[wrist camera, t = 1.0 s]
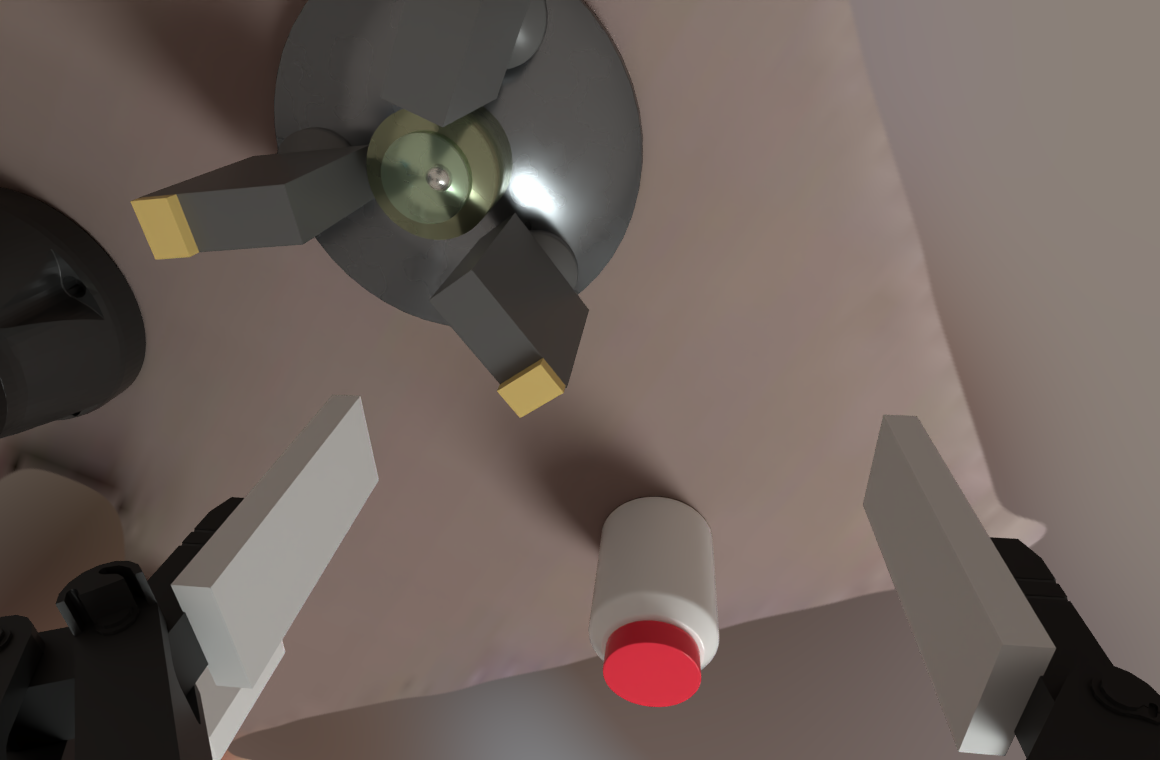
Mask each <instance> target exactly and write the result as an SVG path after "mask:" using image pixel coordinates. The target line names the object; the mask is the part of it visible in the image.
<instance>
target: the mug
mask: <svg viewBox="0 0 1160 760" xmlns="http://www.w3.org/2000/svg"><path fill="white" fill-rule="evenodd" d="M284 654H285V649H284V645H283V641H281V642H280V644H279V646H278V647H277V649H276V651H275V652H274V654H273V656H272V657H271V659H270V661H269V662H268V664H267V666H266V667H265V669H264V671H263V672H262V674H261V676H260V677H259V679H258V680H257V682H256V684H255V685H254V687H253V689H250V688H238V687H227V686H216V684H215V682H214V680H213V677H212V675H211V673H210V671H209V669H208V666H207V667H206V668H205V670H204V671H203V673H202V674H201V676H200V677H199V679H198V680H197V681H196V683H195V684H196V686H197V688H198V690H199V692H200V695H201V700H202V705H203V711H204V716H205V721H206V727H207V732H208V737H209V742H210V748H211V753H212V758H213V760H221V758H222V757H223V755H224V753H225V752H226V750H227V748H228V747H229V745H230V743H231V742H232V740H233V738H234V737H235V735H236V733H237V732H238V730H239V728H240V727H241V725H242V723H243V722H244V720H245V718H246V717H247V715H248V713H249V712H250V710H251V708H252V707H253V705H254V703H255V702H256V700H257V698H258V697H259V695H260V693H261V692H262V690H263V688H264V687H265V685H266V683H267V682H268V680H269V679H270V677H271V675H272V674H273V672H274V670H275V669H276V667H277V665H278V664H279V662H280V660H281V659H282V657H283V655H284Z"/></svg>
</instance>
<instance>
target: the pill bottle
mask: <svg viewBox="0 0 1160 760" xmlns="http://www.w3.org/2000/svg"><path fill="white" fill-rule="evenodd" d="M588 631H589V638H590V642H591V644H592V647H593V649H594V650H595V652H596V653H597V654H598V656H599V657H600V658H601V659H602V660H603V661H604V664H603V675H604V679H605V681H606V683H607V685H608V686H609V687H610V689H611V690H612V691H614V692H615V693H616V694H617V695H618V696H620V697H622V698H623V699H625V700H627V701H630V702H632V703H635V704H639V705H643V706H649V707H665V706H671V705H675V704H678V703H681V702H683V701H685V700H687V699H689V698H690V697H691V696H692V695H693V694H695V693H696V691H697V690H698V688H699V686H700V682H701V669H703V668H704V667H705V666H706V665H707V664H708V663H709V662H710V661H711V660H712V659H713V657H714V655H715V654H716V651H717V648H718V644H719V625H718V611H717V596H716V581H715V567H714V552H713V538H712V533H711V530H710V527H709V525H708V524H707V522H706V520H705V519H704V518H703V517H702V516H701V515H700V513H698V512H697V511H696V510H694V509H693V508H692V507H690V506H688V505H686V504H684V503H682V502H680V501H677V500H674V499H670V498H664V497H644V498H638V499H634V500H632V501H629V502H626V503H624V504H623V505H621V506H619V507H618V508H616V509H615V510H614V511H613V512H612V513H611V514H610V515H609V516H608V518H607V519H606V521H605V523H604V526H603V528H602V535H601V542H600V549H599V556H598V563H597V571H596V578H595V585H594V592H593V599H592V607H591V614H590V621H589V629H588Z"/></svg>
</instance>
